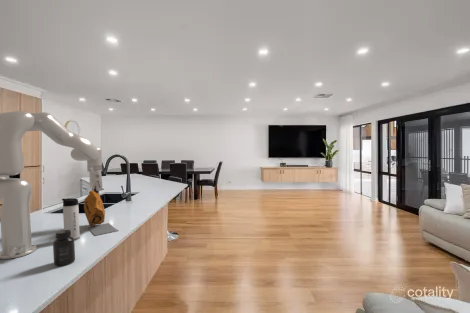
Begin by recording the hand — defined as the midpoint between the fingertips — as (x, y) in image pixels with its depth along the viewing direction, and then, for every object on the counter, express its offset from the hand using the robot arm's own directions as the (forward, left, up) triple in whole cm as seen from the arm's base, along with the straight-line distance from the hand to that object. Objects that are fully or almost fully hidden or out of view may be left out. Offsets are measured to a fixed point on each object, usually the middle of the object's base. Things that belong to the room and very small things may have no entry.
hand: (95, 200), depth 148 cm
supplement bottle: (-49, +21, -14) cm, 55 cm away
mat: (-13, 0, -14) cm, 19 cm away
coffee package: (+1, +1, -9) cm, 9 cm away
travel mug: (-20, +15, -14) cm, 29 cm away
